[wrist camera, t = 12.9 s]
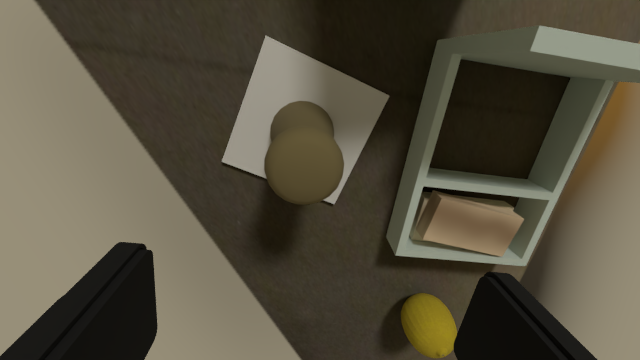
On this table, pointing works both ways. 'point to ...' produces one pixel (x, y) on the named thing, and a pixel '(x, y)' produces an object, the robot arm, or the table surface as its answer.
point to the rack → (558, 146)
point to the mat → (301, 85)
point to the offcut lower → (426, 195)
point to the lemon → (428, 325)
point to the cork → (303, 154)
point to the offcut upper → (468, 224)
